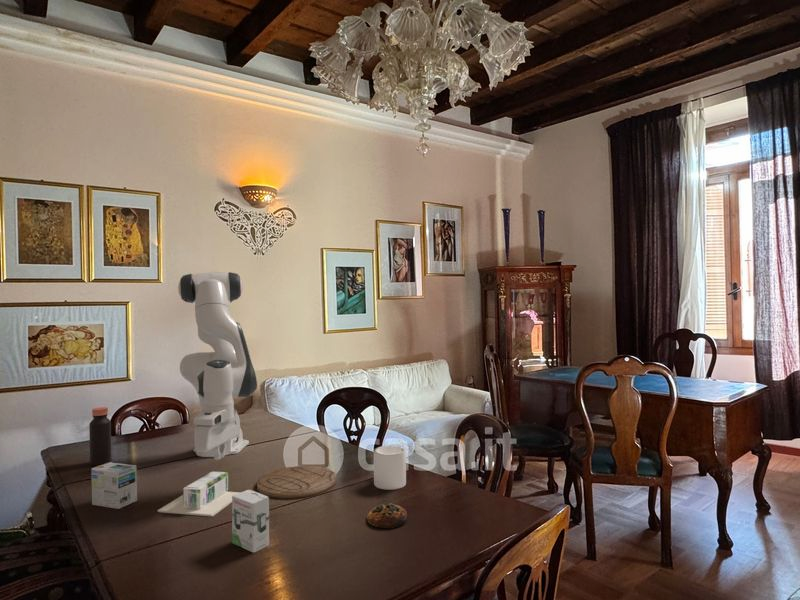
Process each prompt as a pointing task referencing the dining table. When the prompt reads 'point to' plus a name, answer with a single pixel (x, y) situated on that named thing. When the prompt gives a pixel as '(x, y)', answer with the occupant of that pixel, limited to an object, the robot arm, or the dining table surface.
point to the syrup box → (205, 490)
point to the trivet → (296, 482)
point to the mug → (389, 467)
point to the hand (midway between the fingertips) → (219, 458)
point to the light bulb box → (114, 485)
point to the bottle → (100, 437)
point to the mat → (207, 510)
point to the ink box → (250, 520)
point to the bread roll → (387, 516)
